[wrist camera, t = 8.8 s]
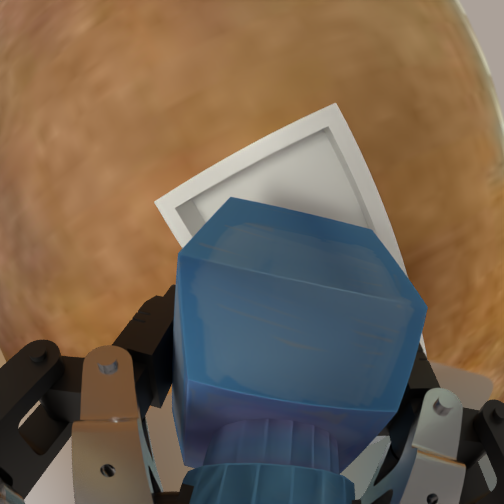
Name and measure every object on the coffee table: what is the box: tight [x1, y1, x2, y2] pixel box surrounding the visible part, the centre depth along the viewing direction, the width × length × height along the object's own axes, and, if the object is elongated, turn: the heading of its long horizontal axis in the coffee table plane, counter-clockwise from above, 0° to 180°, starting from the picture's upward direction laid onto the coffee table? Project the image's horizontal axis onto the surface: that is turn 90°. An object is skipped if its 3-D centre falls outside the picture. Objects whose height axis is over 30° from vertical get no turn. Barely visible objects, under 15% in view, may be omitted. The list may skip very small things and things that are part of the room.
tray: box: [154, 103, 428, 361], centre depth 21 cm, size 23×12×4 cm, turn 29°
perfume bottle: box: [172, 197, 428, 504], centre depth 8 cm, size 6×6×12 cm
